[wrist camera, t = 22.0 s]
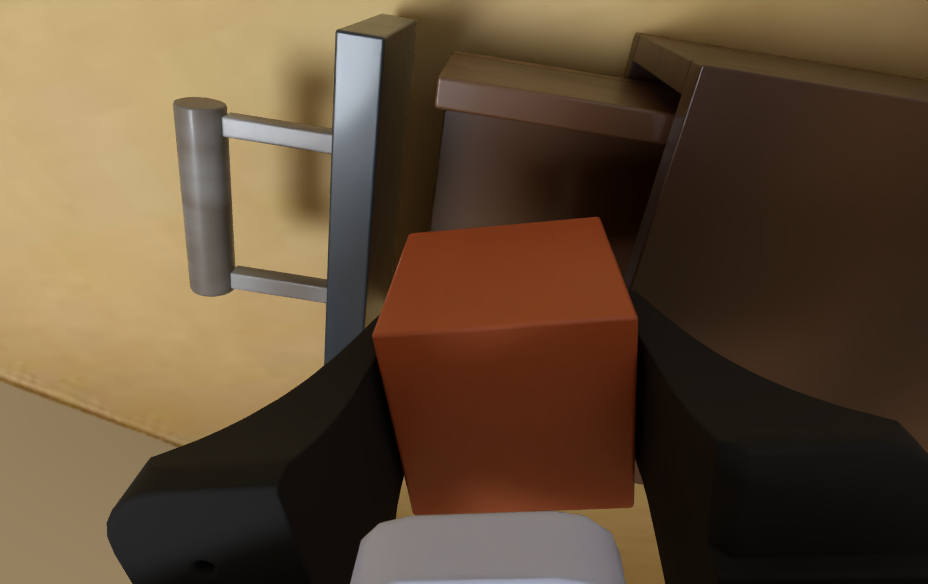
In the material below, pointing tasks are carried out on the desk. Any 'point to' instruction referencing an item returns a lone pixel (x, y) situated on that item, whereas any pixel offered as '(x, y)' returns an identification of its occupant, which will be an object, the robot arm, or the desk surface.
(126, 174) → the desk surface
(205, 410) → the desk surface
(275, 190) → the desk surface
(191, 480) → the robot arm
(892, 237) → the cabinet
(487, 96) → the drawer
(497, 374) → the block
